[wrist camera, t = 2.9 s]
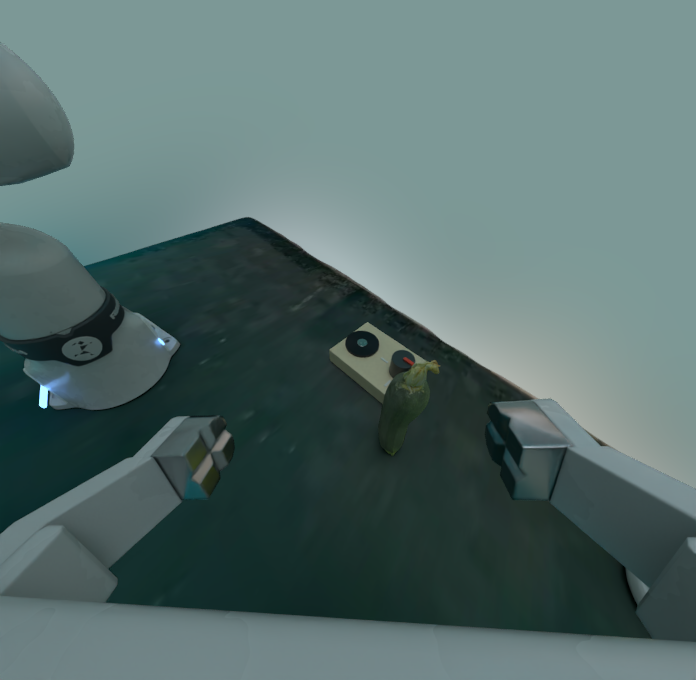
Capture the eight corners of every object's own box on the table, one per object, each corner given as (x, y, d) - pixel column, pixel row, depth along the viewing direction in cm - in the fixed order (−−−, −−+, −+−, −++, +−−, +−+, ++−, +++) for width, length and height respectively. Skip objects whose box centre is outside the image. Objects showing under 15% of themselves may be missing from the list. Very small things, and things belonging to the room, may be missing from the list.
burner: (338, 344, 45) (338, 342, 45) (361, 327, 48) (361, 325, 48) (363, 363, 43) (363, 361, 42) (385, 344, 45) (386, 342, 45)
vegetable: (367, 440, 37) (385, 351, 22) (388, 422, 39) (417, 329, 24) (390, 465, 35) (426, 385, 20) (411, 444, 37) (458, 357, 22)
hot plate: (329, 360, 47) (329, 349, 44) (366, 332, 52) (367, 321, 49) (397, 416, 40) (400, 406, 37) (432, 378, 44) (437, 367, 42)
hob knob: (384, 371, 41) (387, 357, 39) (397, 359, 43) (401, 344, 40) (402, 385, 40) (406, 371, 37) (415, 371, 42) (420, 357, 39)
